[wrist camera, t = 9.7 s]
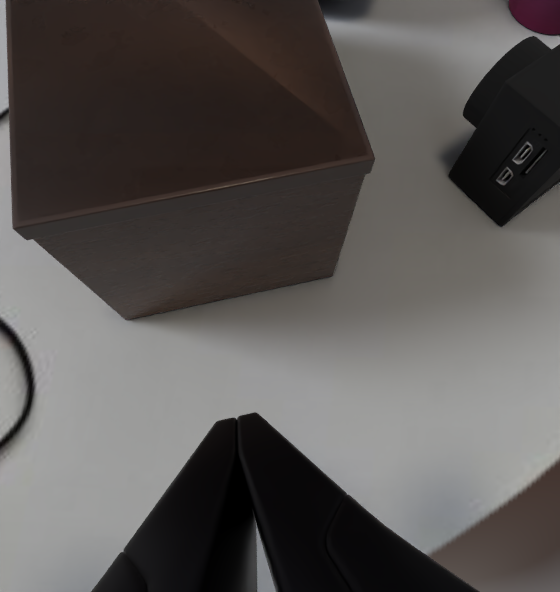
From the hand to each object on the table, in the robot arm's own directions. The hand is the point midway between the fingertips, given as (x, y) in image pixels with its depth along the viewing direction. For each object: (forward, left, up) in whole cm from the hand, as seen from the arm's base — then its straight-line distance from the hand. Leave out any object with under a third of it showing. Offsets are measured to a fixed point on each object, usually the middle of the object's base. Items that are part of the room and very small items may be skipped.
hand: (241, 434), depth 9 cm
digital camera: (+22, -7, -13) cm, 26 cm away
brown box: (+13, +10, -12) cm, 20 cm away
